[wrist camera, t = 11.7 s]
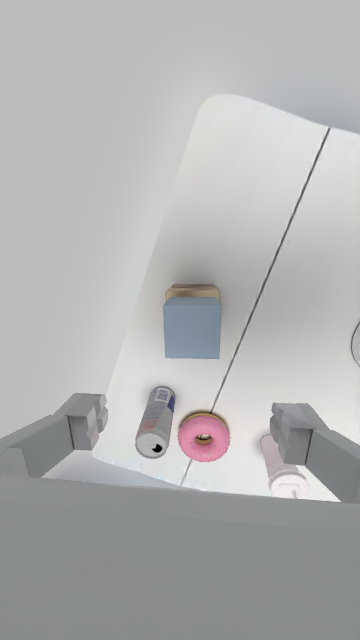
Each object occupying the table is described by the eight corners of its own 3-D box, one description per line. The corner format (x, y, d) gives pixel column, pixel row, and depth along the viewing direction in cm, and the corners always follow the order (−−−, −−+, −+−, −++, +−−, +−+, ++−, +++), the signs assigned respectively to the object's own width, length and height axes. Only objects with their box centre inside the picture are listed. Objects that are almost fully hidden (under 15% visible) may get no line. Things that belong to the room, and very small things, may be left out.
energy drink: (165, 412, 44) (154, 465, 32) (145, 398, 43) (127, 447, 31) (180, 396, 42) (175, 445, 31) (160, 381, 42) (146, 425, 30)
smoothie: (274, 457, 45) (309, 540, 31) (248, 446, 44) (272, 525, 31) (290, 436, 43) (334, 515, 29) (264, 424, 43) (296, 498, 29)
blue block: (215, 296, 26) (221, 305, 21) (214, 339, 28) (219, 359, 22) (170, 296, 27) (163, 305, 21) (171, 339, 28) (165, 357, 23)
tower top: (215, 287, 31) (219, 291, 26) (214, 330, 33) (217, 341, 28) (170, 288, 32) (165, 292, 27) (171, 330, 33) (167, 341, 29)
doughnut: (220, 455, 46) (222, 473, 42) (173, 442, 46) (171, 459, 42) (235, 416, 43) (239, 432, 39) (185, 403, 43) (184, 417, 39)
